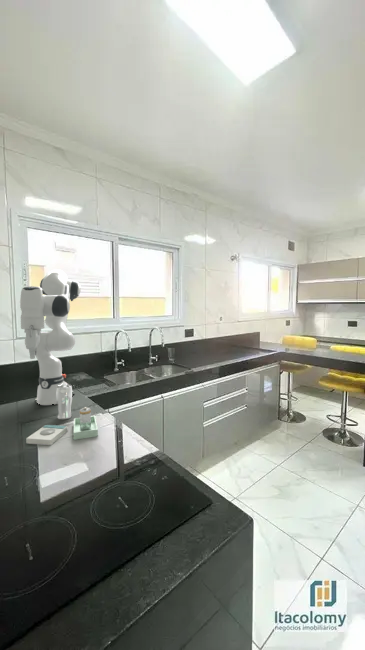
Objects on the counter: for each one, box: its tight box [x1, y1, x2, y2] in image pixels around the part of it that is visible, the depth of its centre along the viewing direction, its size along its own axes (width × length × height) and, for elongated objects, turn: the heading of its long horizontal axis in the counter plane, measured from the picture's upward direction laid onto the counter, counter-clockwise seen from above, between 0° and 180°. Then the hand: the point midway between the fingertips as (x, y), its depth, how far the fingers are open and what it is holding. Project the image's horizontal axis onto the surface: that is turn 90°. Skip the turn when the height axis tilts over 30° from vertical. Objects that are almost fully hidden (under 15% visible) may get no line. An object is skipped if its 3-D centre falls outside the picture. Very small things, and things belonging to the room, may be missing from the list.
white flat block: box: [25, 424, 68, 446], centre depth 112 cm, size 12×10×2 cm
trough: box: [72, 415, 99, 441], centre depth 118 cm, size 15×9×3 cm, turn 21°
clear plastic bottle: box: [56, 383, 73, 421], centre depth 132 cm, size 7×7×15 cm
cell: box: [79, 406, 92, 431], centre depth 116 cm, size 4×4×10 cm
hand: (33, 356), depth 119 cm, fingers open, 8 cm apart
